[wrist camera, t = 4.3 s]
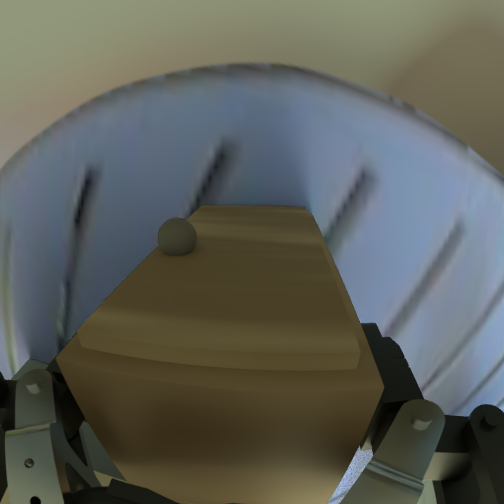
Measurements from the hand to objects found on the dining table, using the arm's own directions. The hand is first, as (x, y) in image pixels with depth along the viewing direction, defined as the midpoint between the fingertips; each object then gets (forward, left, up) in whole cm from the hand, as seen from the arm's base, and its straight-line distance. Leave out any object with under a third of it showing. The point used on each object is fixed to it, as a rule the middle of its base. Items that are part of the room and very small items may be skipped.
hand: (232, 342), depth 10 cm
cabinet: (0, 0, -7) cm, 7 cm away
